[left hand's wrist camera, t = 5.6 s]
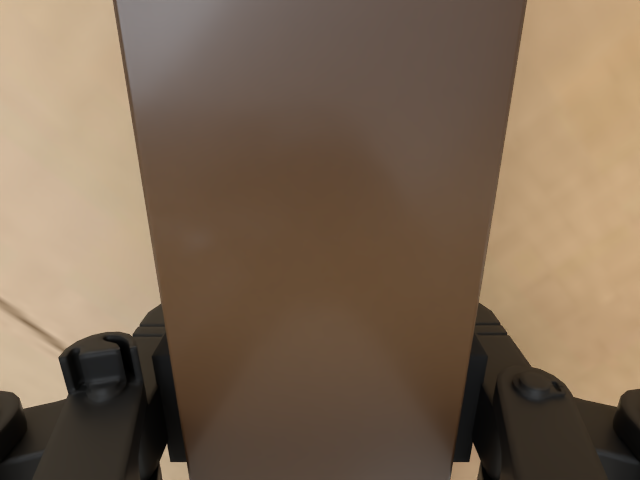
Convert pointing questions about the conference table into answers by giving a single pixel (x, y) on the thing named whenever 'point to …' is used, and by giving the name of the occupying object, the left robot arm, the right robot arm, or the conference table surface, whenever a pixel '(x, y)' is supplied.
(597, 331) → the conference table surface
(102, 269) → the conference table surface
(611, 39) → the conference table surface
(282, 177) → the beam
